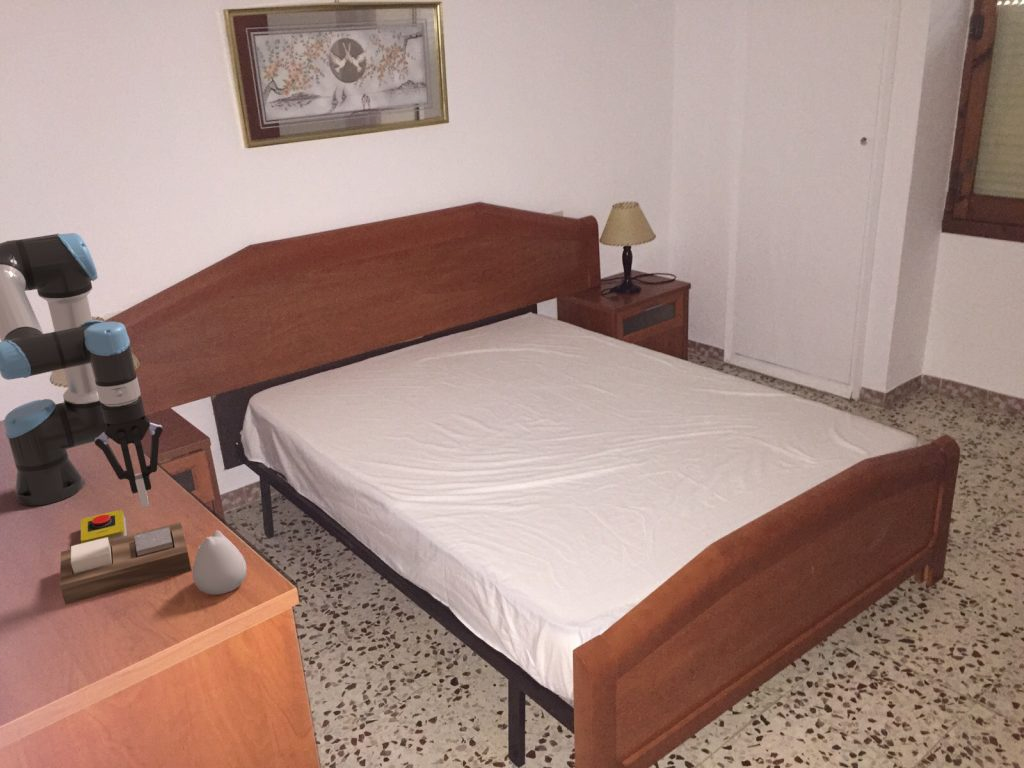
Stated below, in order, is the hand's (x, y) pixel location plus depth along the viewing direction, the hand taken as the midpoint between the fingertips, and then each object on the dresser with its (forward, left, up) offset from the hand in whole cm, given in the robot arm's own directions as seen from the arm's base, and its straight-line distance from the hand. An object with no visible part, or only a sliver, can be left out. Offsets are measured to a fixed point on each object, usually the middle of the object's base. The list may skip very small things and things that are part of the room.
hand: (145, 504), depth 173 cm
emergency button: (-18, -10, -15) cm, 26 cm away
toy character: (+16, +11, -14) cm, 24 cm away
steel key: (0, 0, -12) cm, 12 cm away
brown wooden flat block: (0, -6, -14) cm, 15 cm away
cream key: (0, -12, -11) cm, 16 cm away
